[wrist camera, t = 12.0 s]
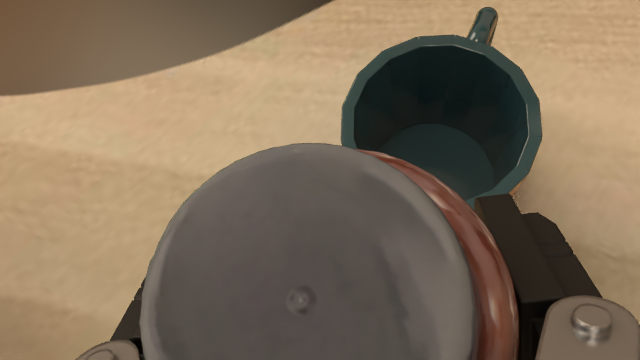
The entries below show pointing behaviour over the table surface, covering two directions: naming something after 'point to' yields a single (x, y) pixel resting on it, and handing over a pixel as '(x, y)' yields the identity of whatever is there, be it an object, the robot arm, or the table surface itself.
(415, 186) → the supplement bottle
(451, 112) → the mug
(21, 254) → the table surface
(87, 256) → the table surface
